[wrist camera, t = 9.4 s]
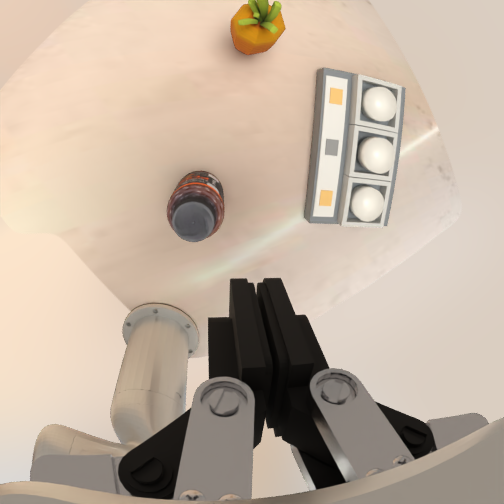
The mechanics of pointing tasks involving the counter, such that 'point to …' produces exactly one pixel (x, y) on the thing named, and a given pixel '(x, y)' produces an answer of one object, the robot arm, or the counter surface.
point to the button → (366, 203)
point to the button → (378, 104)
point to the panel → (347, 148)
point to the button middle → (376, 154)
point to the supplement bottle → (196, 206)
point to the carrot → (257, 26)
